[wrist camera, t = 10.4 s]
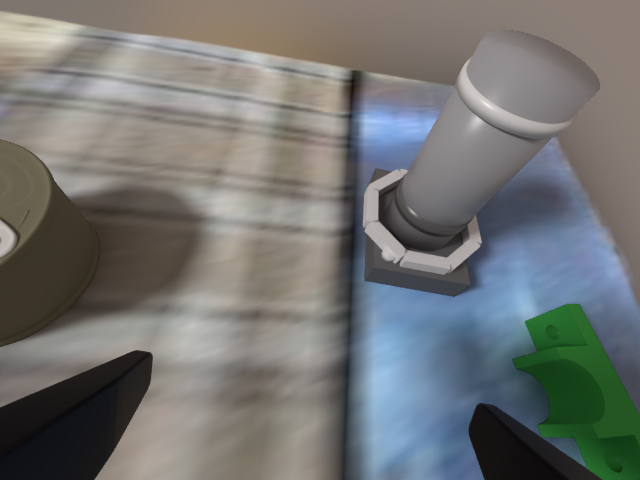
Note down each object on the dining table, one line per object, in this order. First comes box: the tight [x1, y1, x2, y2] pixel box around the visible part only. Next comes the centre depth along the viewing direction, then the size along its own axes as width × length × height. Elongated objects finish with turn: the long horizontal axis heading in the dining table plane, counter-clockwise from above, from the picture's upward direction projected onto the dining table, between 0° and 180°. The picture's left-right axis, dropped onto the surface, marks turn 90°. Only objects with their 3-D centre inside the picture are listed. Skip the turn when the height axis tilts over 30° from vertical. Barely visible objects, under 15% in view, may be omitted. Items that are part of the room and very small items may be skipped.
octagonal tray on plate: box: [363, 169, 482, 297], centre depth 27 cm, size 11×10×4 cm
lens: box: [386, 30, 600, 252], centre depth 21 cm, size 6×6×14 cm
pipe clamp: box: [512, 304, 640, 480], centre depth 21 cm, size 11×4×5 cm, turn 4°
